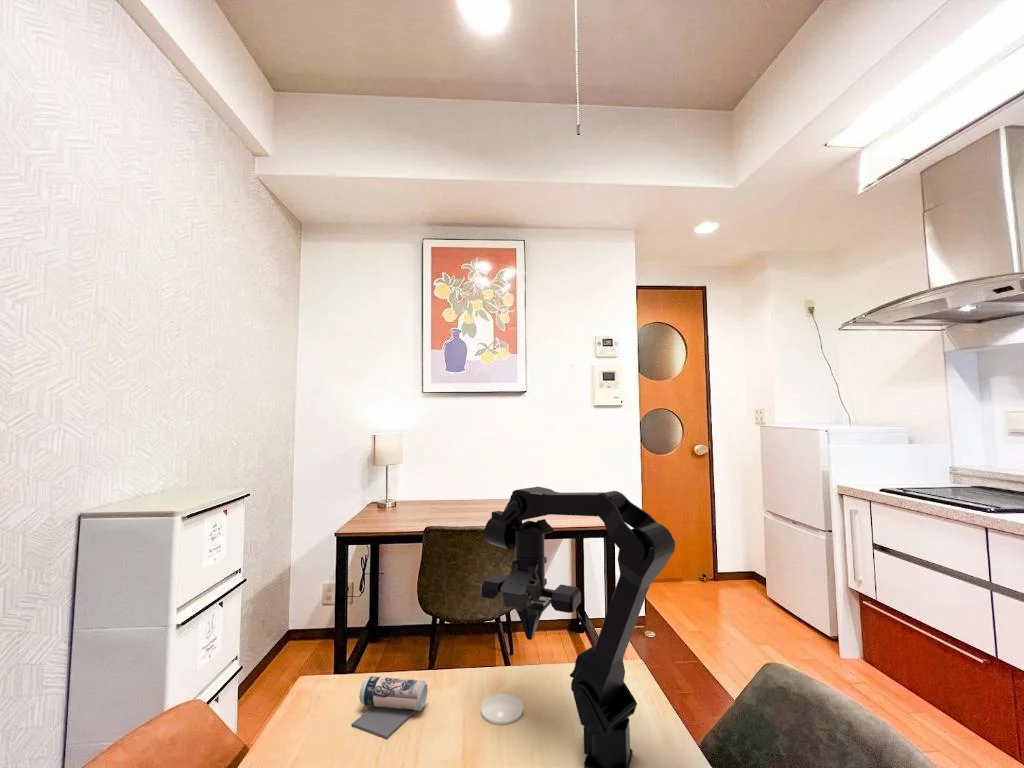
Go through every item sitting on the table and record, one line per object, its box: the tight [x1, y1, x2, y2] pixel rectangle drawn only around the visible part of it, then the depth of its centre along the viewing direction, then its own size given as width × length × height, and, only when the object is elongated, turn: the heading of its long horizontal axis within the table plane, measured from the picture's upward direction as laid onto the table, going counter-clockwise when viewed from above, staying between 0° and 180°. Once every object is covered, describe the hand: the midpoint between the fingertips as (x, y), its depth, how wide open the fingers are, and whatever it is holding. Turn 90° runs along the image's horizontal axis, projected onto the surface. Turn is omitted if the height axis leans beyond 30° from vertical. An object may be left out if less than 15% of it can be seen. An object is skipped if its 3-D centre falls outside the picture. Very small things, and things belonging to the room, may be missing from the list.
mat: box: [351, 706, 418, 740], centre depth 82 cm, size 8×10×1 cm
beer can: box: [358, 675, 428, 712], centre depth 85 cm, size 5×5×12 cm
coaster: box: [480, 692, 524, 726], centre depth 84 cm, size 8×8×1 cm
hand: (530, 638), depth 84 cm, fingers closed
